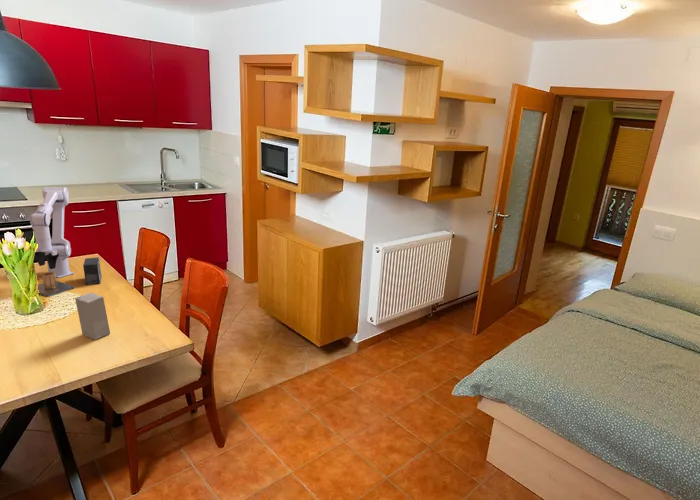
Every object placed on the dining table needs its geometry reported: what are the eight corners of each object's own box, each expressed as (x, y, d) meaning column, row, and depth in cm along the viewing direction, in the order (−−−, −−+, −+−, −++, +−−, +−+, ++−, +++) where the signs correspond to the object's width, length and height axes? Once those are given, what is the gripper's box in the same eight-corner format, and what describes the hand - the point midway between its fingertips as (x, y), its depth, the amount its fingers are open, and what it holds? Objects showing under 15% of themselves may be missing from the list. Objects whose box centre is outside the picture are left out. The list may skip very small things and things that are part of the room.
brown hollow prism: (41, 286, 204) (40, 274, 202) (52, 283, 208) (50, 271, 207) (48, 288, 202) (46, 276, 200) (58, 285, 206) (57, 273, 205)
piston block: (27, 289, 203) (25, 279, 202) (53, 281, 214) (52, 272, 212) (48, 296, 198) (46, 286, 196) (74, 288, 208) (72, 278, 207)
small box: (87, 277, 221) (84, 257, 218) (101, 276, 224) (99, 256, 221) (85, 285, 212) (82, 264, 209) (100, 283, 215) (98, 263, 212)
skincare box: (110, 334, 170) (106, 296, 165) (92, 341, 164) (87, 302, 159) (97, 328, 174) (93, 290, 169) (79, 335, 168) (74, 296, 163)
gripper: (23, 238, 201) (28, 266, 205) (44, 243, 195) (48, 272, 199) (39, 234, 207) (44, 262, 211) (60, 240, 201) (64, 268, 205)
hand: (47, 266), depth 206 cm, fingers open, 7 cm apart
